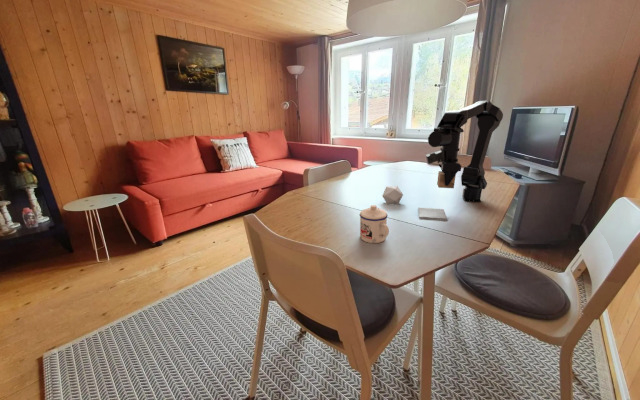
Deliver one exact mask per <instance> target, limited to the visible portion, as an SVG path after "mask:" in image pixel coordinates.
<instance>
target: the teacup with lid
mask: <svg viewBox="0 0 640 400" xmlns="http://www.w3.org/2000/svg"><path fill="white" fill-rule="evenodd" d="M388 217H389V216H388V213H387V212H386V210H384V209H381V208H378V207H377V205H375V204H371V205H370V207H368V208H364V209H362V210H361V211H360V212H359V219H360V220H359V221H360V223H359V231H360V232H359V235H360V236H359V237H360V239H361V240H362V241H364V242H366V243H367V244H368V243H369V244H379V243H380V244H381V243H383V242H384V241H386V238H387V237H388V236H389V232H390V231H389V226H388V225H387V219H388Z"/></svg>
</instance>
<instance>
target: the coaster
mask: <svg viewBox="0 0 640 400" xmlns="http://www.w3.org/2000/svg"><path fill="white" fill-rule="evenodd" d="M417 211H418V219H421V220H422V219H424V220H437V221H448V216H447V215H446V211H445V209H444V208H432V207H431V208H430V207H429V208H428V207H417Z"/></svg>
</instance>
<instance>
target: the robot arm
mask: <svg viewBox="0 0 640 400" xmlns="http://www.w3.org/2000/svg"><path fill="white" fill-rule="evenodd" d="M473 117H475V118H476V120H477V123H476V125H477V128H478V130H479V131H478V135H477V137H476V138H477V139H476V141H475V146H474V148H473V152H472V155H471V159H470V163H469V164H468V165H467V166H464V167H463V170H462V165H461V164H460V162H459V159H458V154H459V151H460V150H461V149H460V146H459V145H460V142H461V141H460V140H461V139H460V138H461V133H464V132H465V131H464V128H462V127H463V126H465V125H466V124H468V120H469V119H472V118H473ZM503 118H504V113H503V111H502V110H501V108H500V107H498V106H497V105H495V104H493V103H492V102H491V100H477V101H476V102H474V103H473V104H471V105H468V106H466V107H463V108H461V109H455V110H447V111H445V112H444V114H443V116H441V119H440V121H439V122H438V125H436V127H434V129H433V131H432V132H431V133H430V134H429V135H428V138H427V143H428V144H429V146H431V147H432V148H437V147H440V150H438V151H433V152H430V153H426V154H425V159H426V161H427V164H429V165H430V164H433V163H437V165H438V167H439V168H440V171H443V172H444V177H445V186H448V185H449V184H450V182H451V181H452V179H453V178H454V176H455V175H457V173H458V172H461V171H462V174H461V176H460V181H461V182H460V183H461V186H463V187H464V188H462V199H463V200H464V201H465V202H478V203H479V202H480V203H481V202H482V200H481V196H482V191H483V190H485V189H486V188H487V185H488V182H487V179H486V177H485V174H486V172H485V169H484V162H485V159H486V155H487V152H488V149H489V146H490V141H491V139H492V135H493V133H494V131H496V129H498V127H500V124H501V121H502V120H503ZM455 177H456V176H455Z"/></svg>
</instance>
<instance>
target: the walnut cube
mask: <svg viewBox="0 0 640 400" xmlns="http://www.w3.org/2000/svg"><path fill="white" fill-rule="evenodd" d="M456 175H457V174H456ZM456 175H455V176H454V178H453V179H452V181H451V182H450V184H449V185H448V186H445V177H444V172H443V171H442V170H440V171H439V170H438V173H437V183H436V185H437V187H438V188H442V189H454V188H455V183H456Z"/></svg>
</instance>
